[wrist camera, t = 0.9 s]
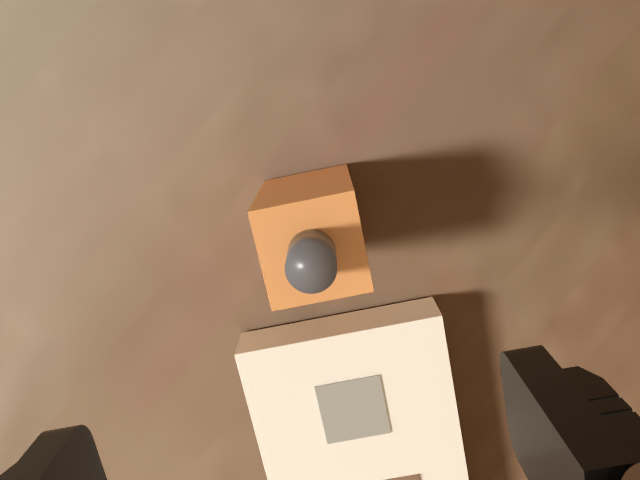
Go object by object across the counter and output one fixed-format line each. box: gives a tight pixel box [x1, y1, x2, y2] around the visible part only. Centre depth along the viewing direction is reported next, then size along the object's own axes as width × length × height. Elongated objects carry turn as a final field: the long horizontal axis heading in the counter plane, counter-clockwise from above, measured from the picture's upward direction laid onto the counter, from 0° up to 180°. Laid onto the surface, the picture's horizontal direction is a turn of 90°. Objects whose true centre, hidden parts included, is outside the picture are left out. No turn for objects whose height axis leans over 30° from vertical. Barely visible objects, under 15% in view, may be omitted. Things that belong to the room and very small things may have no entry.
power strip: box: [234, 297, 469, 480], centre depth 31 cm, size 16×10×3 cm, turn 12°
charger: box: [248, 164, 374, 311], centre depth 24 cm, size 4×4×9 cm
